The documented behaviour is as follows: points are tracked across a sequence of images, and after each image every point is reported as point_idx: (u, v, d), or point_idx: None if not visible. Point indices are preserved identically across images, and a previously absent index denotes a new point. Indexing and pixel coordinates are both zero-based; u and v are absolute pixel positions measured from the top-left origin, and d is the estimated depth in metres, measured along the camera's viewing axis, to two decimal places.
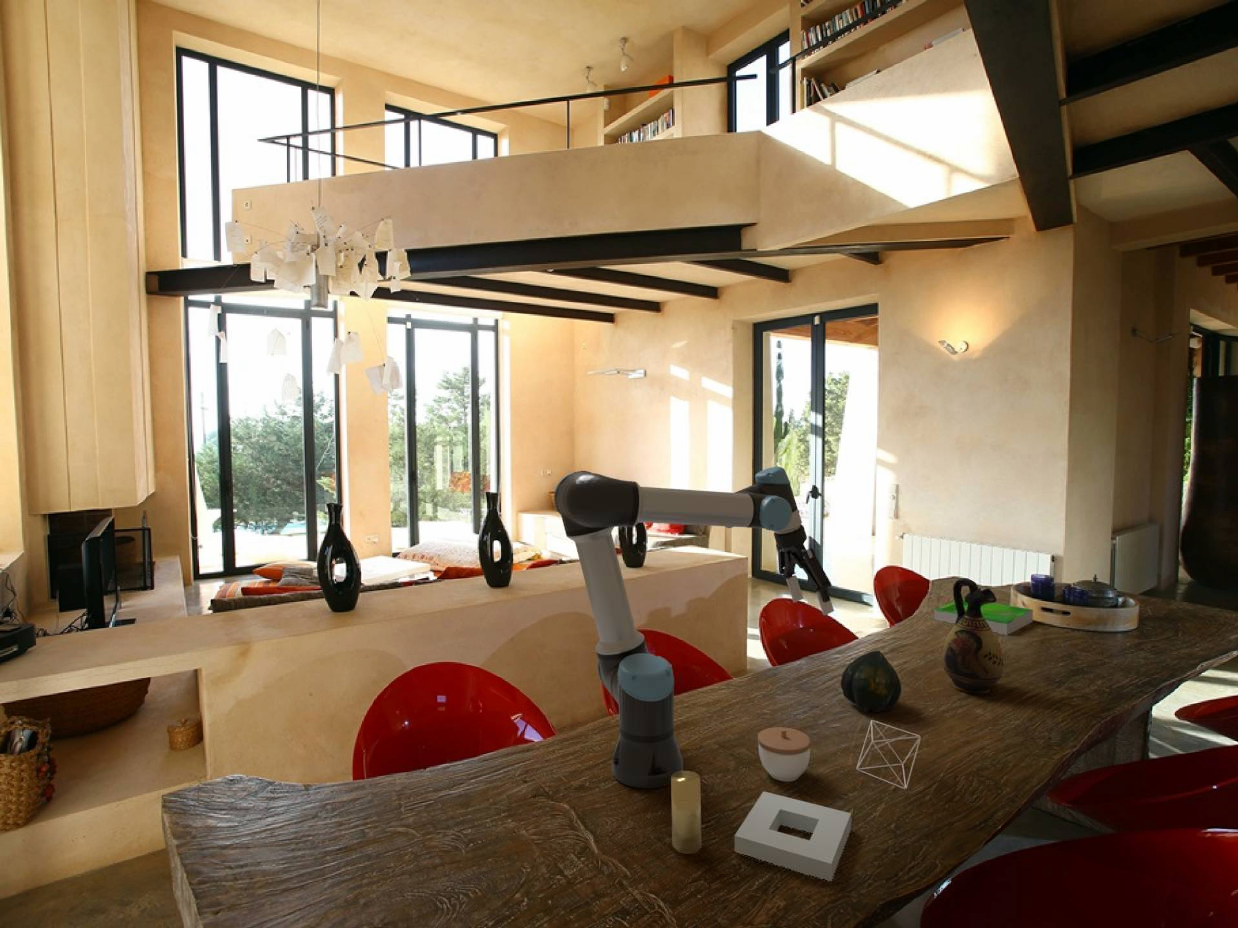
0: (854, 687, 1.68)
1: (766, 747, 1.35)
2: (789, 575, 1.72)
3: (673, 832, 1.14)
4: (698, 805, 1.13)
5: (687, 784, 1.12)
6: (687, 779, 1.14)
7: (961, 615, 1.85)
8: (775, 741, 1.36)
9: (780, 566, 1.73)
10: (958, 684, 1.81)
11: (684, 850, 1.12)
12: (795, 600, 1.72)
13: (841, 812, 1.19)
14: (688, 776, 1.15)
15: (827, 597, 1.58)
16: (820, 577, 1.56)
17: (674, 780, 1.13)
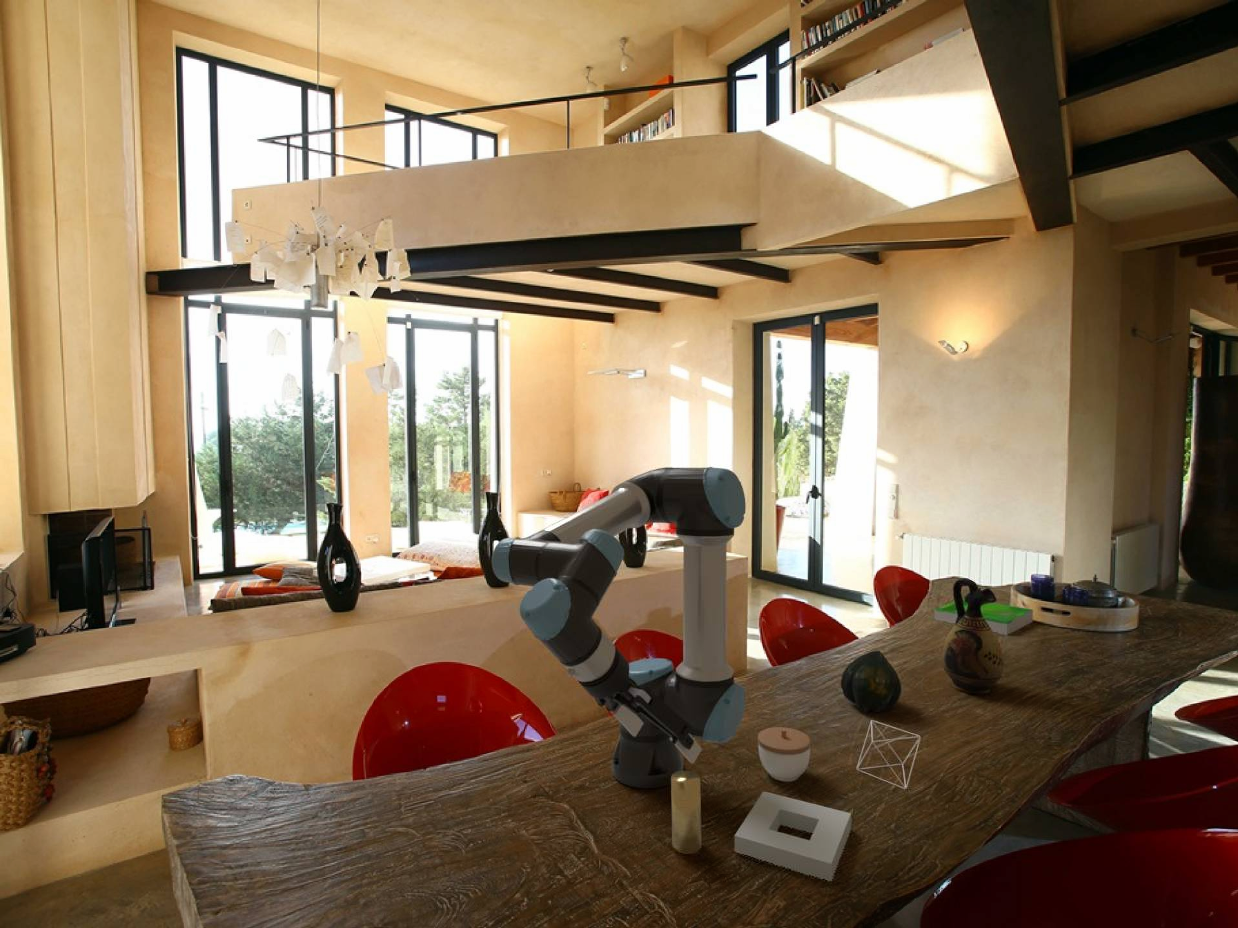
0: (854, 687, 1.68)
1: (766, 747, 1.35)
2: None
3: (673, 832, 1.14)
4: (698, 805, 1.13)
5: (687, 784, 1.12)
6: (687, 779, 1.14)
7: (961, 615, 1.85)
8: (775, 741, 1.36)
9: None
10: (958, 684, 1.81)
11: (684, 850, 1.12)
12: None
13: (841, 812, 1.19)
14: (688, 776, 1.15)
15: None
16: None
17: (674, 780, 1.13)
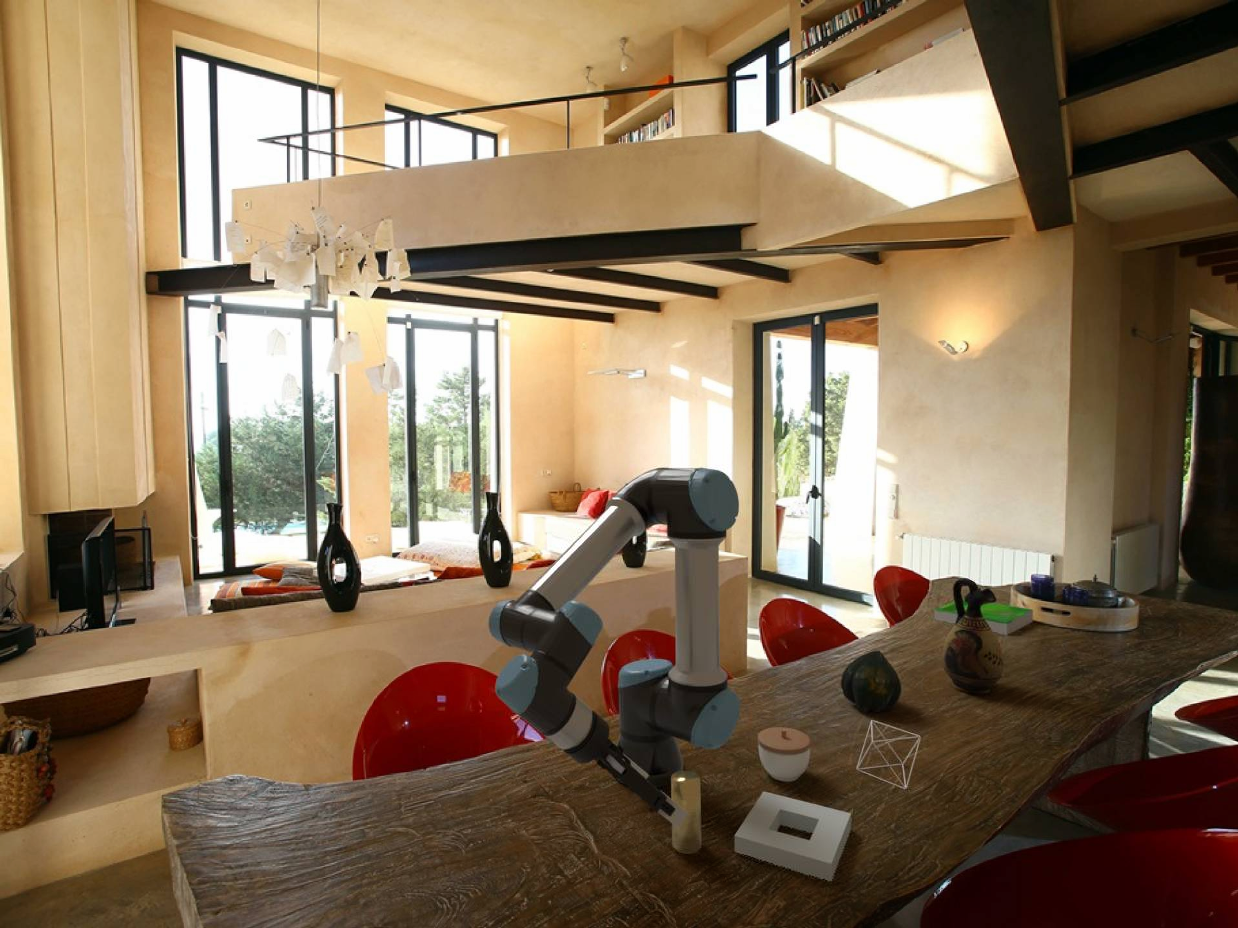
0: (854, 687, 1.68)
1: (766, 747, 1.35)
2: None
3: (673, 832, 1.14)
4: (698, 805, 1.13)
5: (687, 784, 1.12)
6: (687, 779, 1.14)
7: (961, 615, 1.85)
8: (775, 741, 1.36)
9: (652, 785, 1.02)
10: (958, 684, 1.81)
11: (684, 850, 1.12)
12: None
13: (841, 812, 1.19)
14: (688, 776, 1.15)
15: None
16: None
17: (674, 780, 1.13)
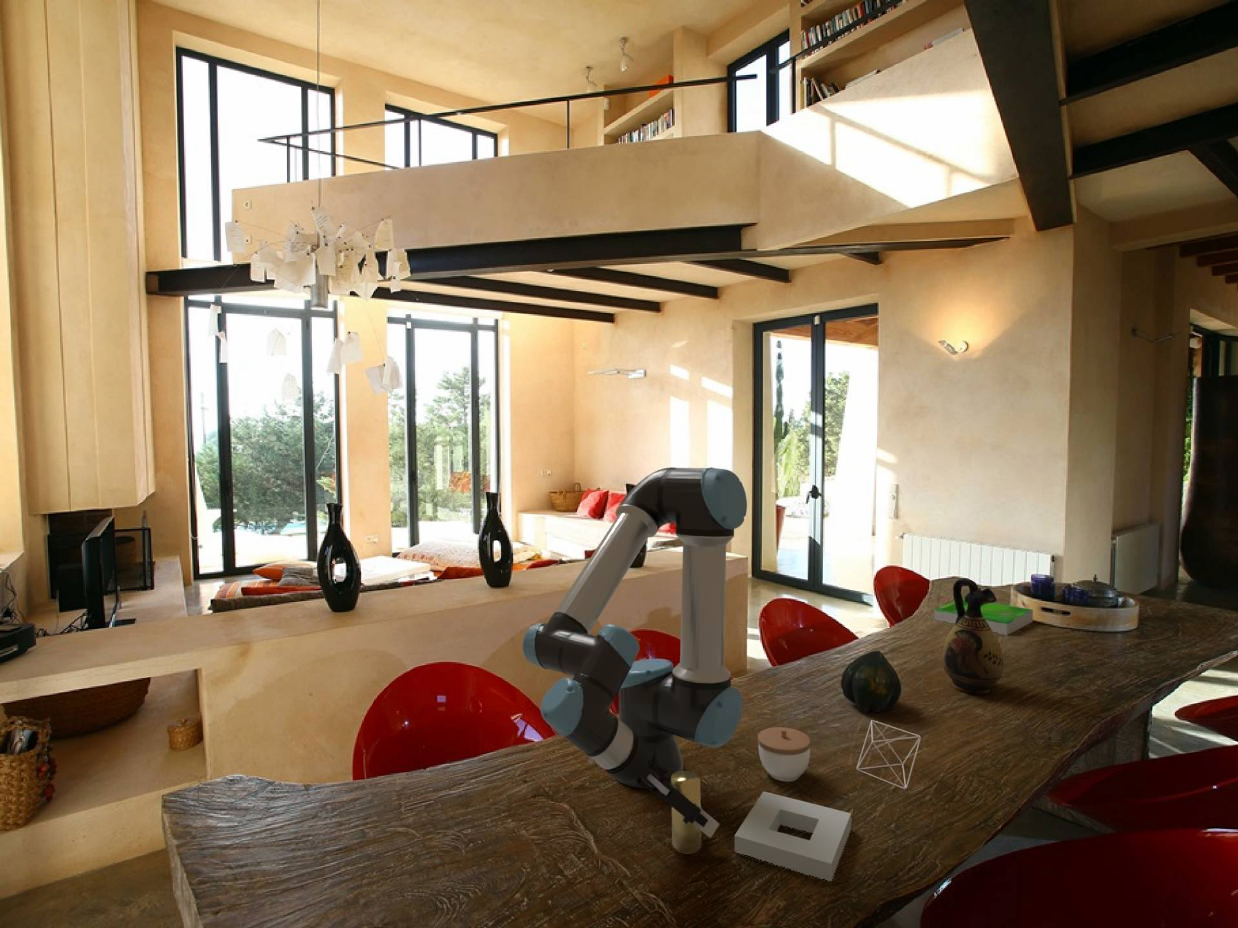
0: (854, 687, 1.68)
1: (766, 747, 1.35)
2: None
3: (673, 832, 1.14)
4: (698, 805, 1.13)
5: (687, 784, 1.12)
6: (687, 779, 1.14)
7: (961, 615, 1.85)
8: (775, 741, 1.36)
9: None
10: (958, 684, 1.81)
11: (684, 850, 1.12)
12: None
13: (841, 812, 1.19)
14: (688, 776, 1.15)
15: None
16: None
17: (674, 780, 1.13)
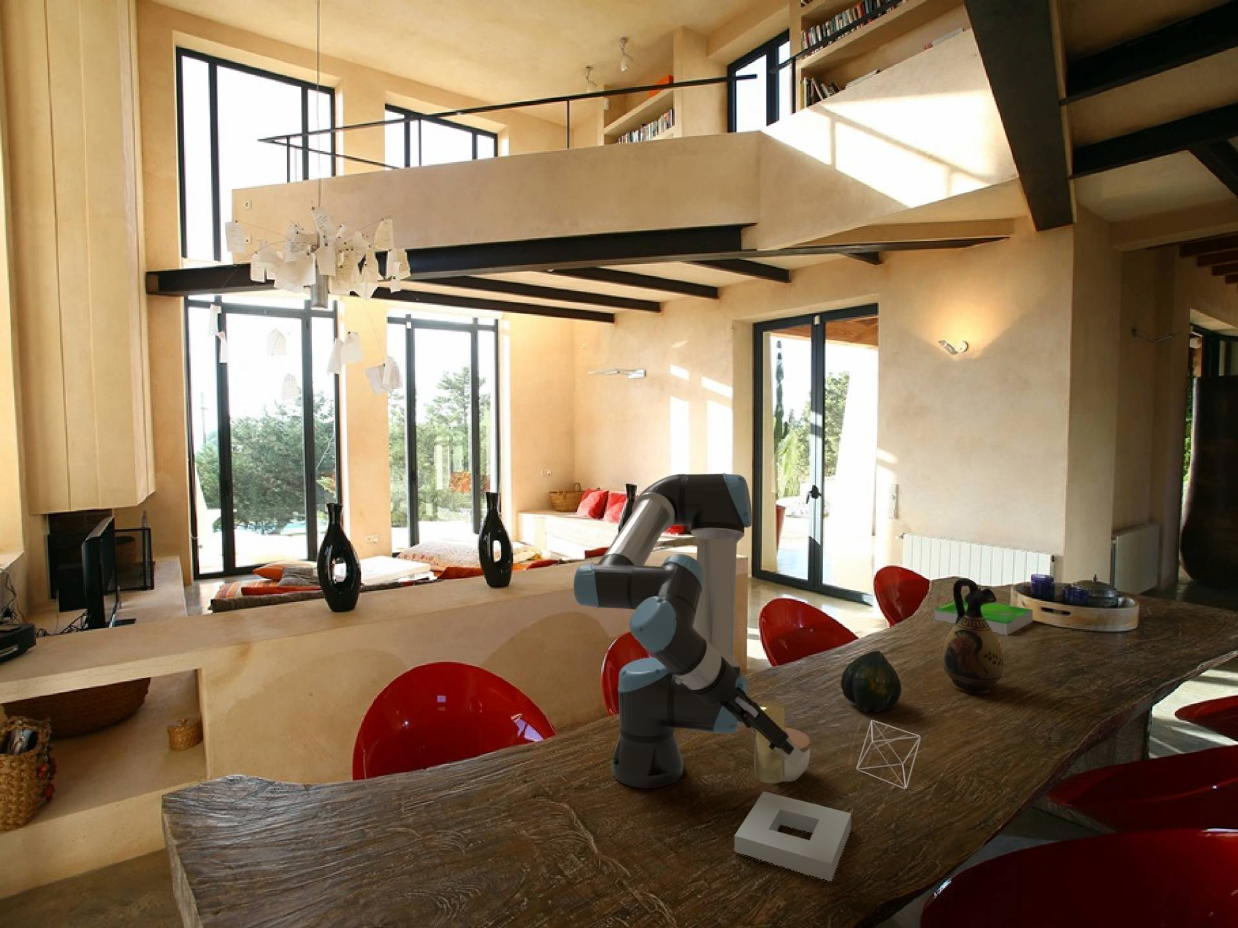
0: (854, 687, 1.68)
1: None
2: None
3: (756, 761, 1.12)
4: None
5: (772, 711, 1.11)
6: (771, 707, 1.12)
7: (961, 615, 1.85)
8: None
9: None
10: (958, 684, 1.81)
11: (768, 779, 1.11)
12: None
13: (841, 812, 1.19)
14: (772, 705, 1.13)
15: None
16: None
17: None
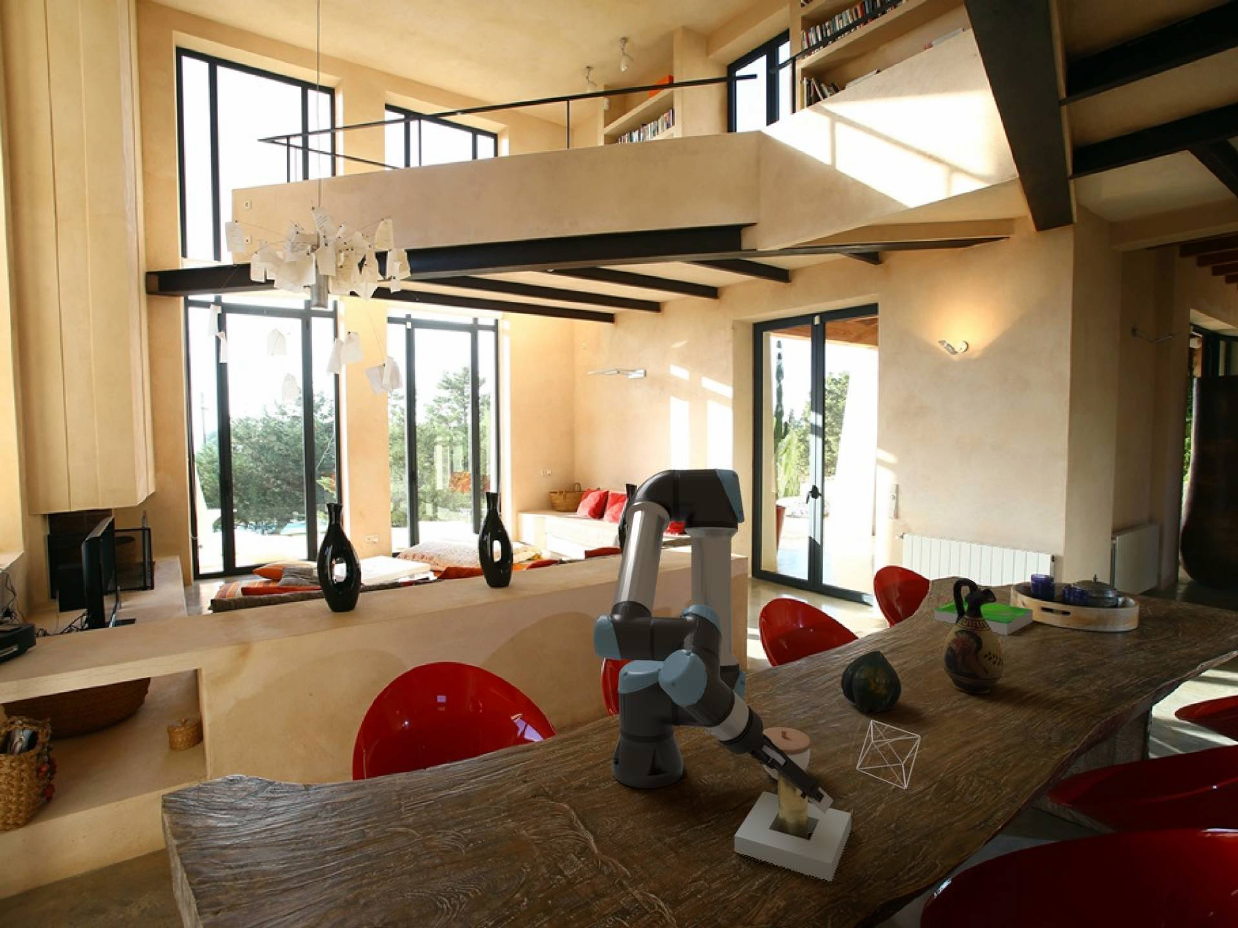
0: (854, 687, 1.68)
1: None
2: None
3: (781, 827, 1.15)
4: (806, 800, 1.14)
5: None
6: None
7: (961, 615, 1.85)
8: (775, 741, 1.36)
9: None
10: (958, 684, 1.81)
11: None
12: None
13: (841, 812, 1.19)
14: None
15: None
16: None
17: (781, 775, 1.14)
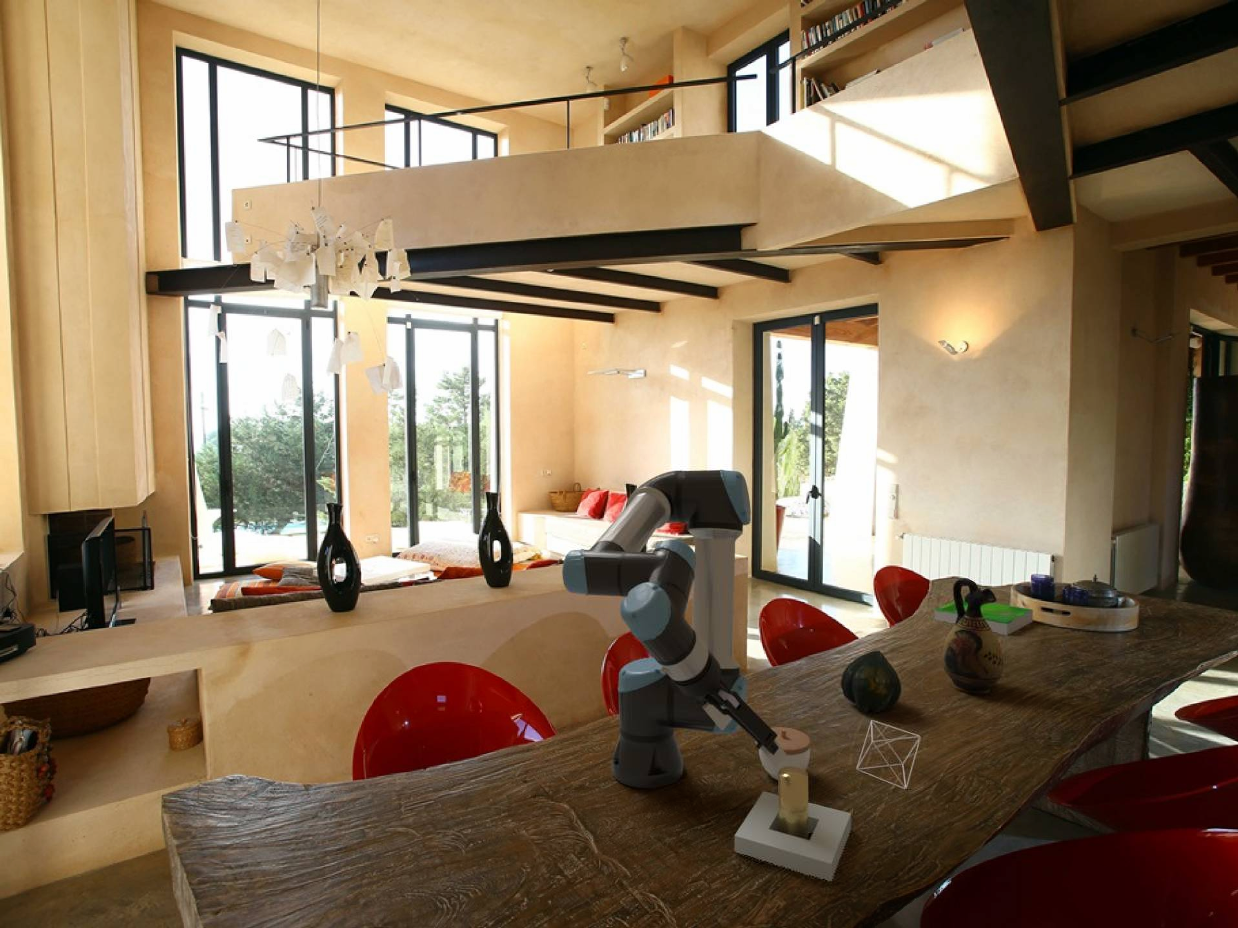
0: (854, 687, 1.68)
1: None
2: None
3: (781, 827, 1.15)
4: (807, 800, 1.14)
5: (797, 779, 1.13)
6: (795, 774, 1.15)
7: (961, 615, 1.85)
8: None
9: None
10: (958, 684, 1.81)
11: None
12: None
13: (841, 812, 1.19)
14: (795, 772, 1.16)
15: None
16: None
17: (782, 776, 1.14)
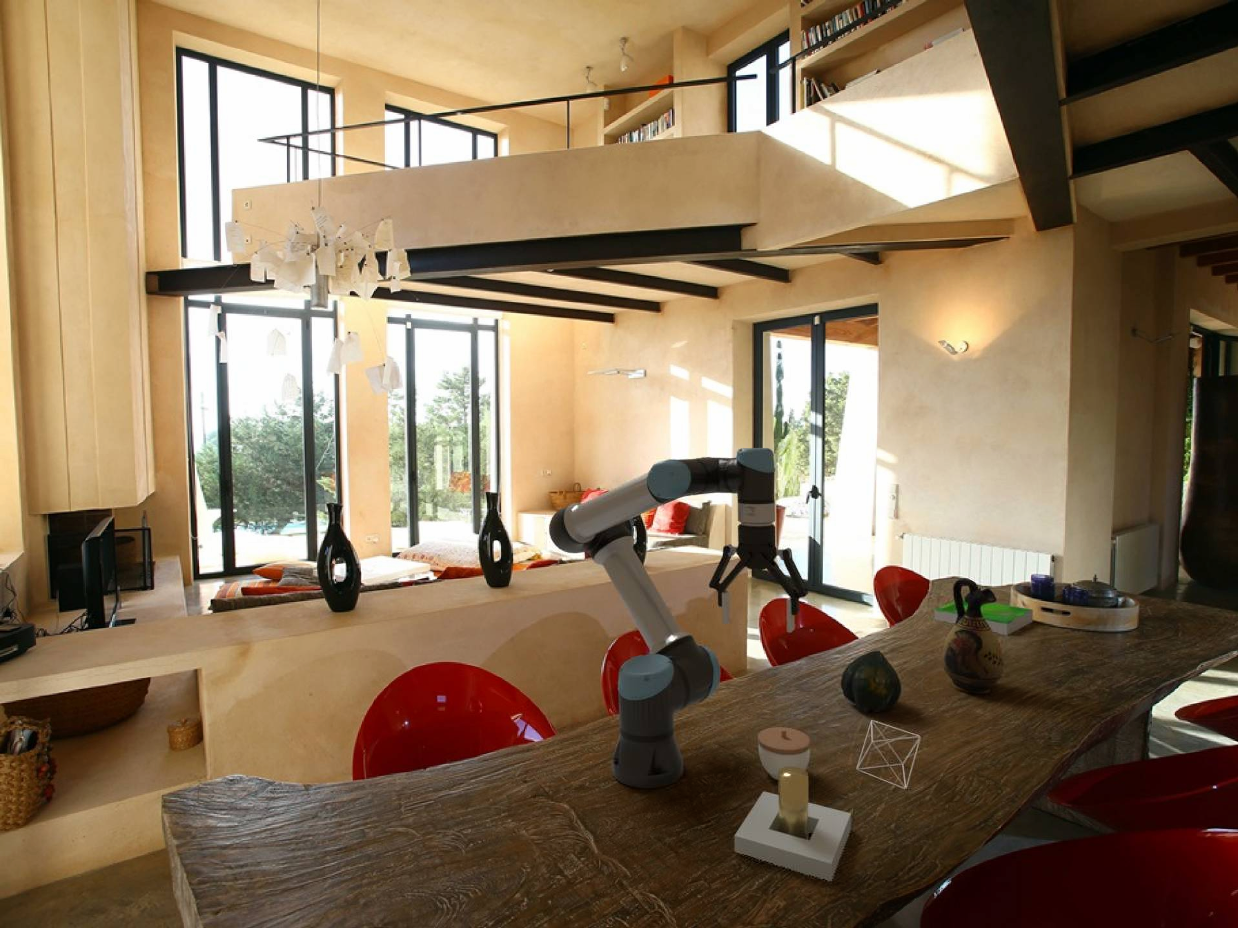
0: (854, 687, 1.68)
1: (766, 747, 1.35)
2: None
3: (781, 827, 1.15)
4: (807, 800, 1.14)
5: (797, 779, 1.13)
6: (795, 774, 1.15)
7: (961, 615, 1.85)
8: (775, 741, 1.36)
9: None
10: (958, 684, 1.81)
11: None
12: None
13: (841, 812, 1.19)
14: (795, 772, 1.16)
15: None
16: None
17: (782, 776, 1.14)
